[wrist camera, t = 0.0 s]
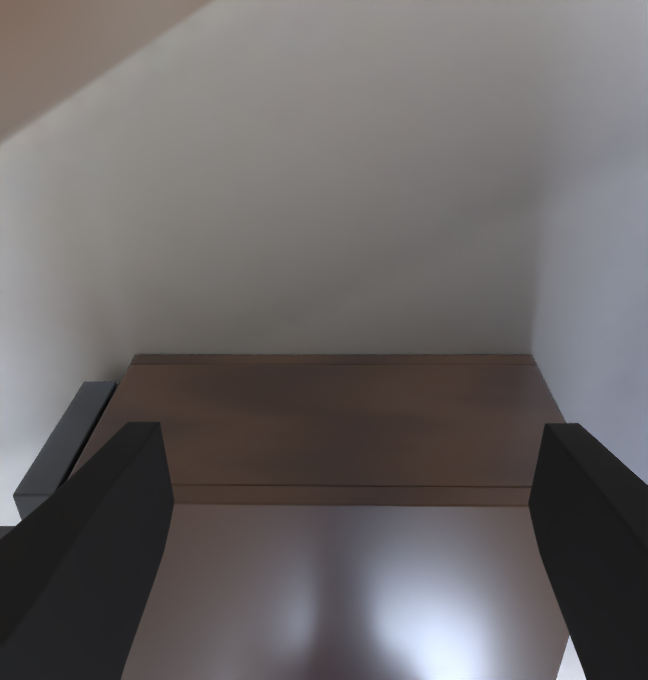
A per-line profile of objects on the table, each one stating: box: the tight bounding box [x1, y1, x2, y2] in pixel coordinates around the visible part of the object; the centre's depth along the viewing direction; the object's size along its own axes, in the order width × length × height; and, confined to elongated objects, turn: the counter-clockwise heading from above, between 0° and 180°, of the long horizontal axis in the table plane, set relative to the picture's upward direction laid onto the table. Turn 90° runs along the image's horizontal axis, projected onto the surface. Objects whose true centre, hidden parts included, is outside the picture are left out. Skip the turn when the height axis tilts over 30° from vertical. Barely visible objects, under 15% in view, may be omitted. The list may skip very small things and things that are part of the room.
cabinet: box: [68, 355, 570, 680], centre depth 23 cm, size 14×14×7 cm
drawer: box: [0, 381, 117, 539], centre depth 23 cm, size 18×13×6 cm
